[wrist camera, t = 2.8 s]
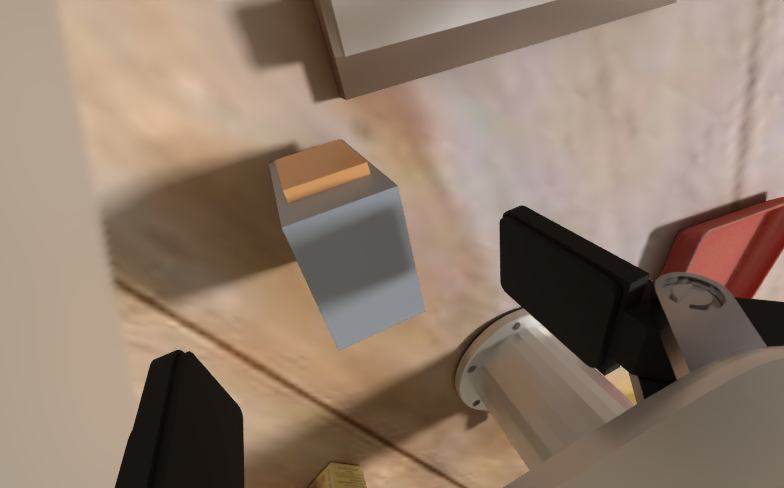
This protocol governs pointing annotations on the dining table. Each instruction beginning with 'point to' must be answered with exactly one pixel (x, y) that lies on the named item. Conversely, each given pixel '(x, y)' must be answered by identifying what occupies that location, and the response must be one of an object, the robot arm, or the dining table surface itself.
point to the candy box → (340, 477)
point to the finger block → (348, 239)
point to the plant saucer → (732, 247)
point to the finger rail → (446, 33)
